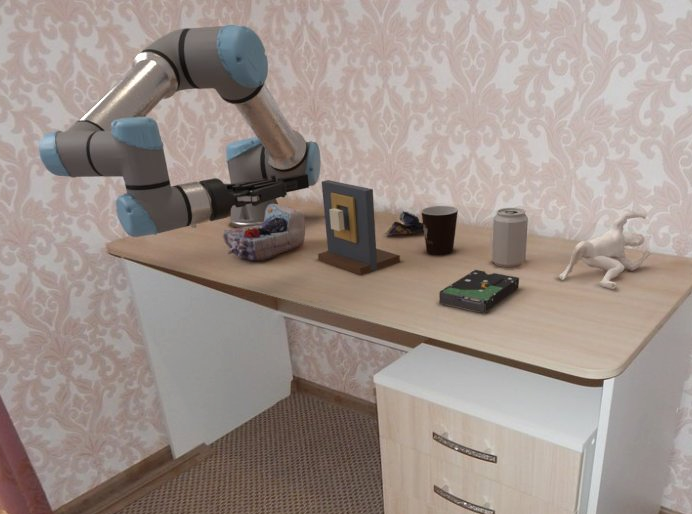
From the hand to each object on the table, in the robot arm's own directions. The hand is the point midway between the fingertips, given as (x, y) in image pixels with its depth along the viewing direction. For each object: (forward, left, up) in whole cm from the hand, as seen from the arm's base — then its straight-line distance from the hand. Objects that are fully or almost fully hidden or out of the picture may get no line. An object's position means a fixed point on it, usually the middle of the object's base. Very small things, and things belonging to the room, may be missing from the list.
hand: (306, 180), depth 131 cm
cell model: (-23, -3, -21) cm, 31 cm away
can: (+21, +38, -21) cm, 48 cm away
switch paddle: (-1, +7, -12) cm, 14 cm away
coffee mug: (+3, +32, -21) cm, 39 cm away
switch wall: (-2, +12, -21) cm, 24 cm away
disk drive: (+33, +20, -21) cm, 44 cm away
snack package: (-14, +34, -21) cm, 42 cm away
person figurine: (+39, +49, -21) cm, 66 cm away
